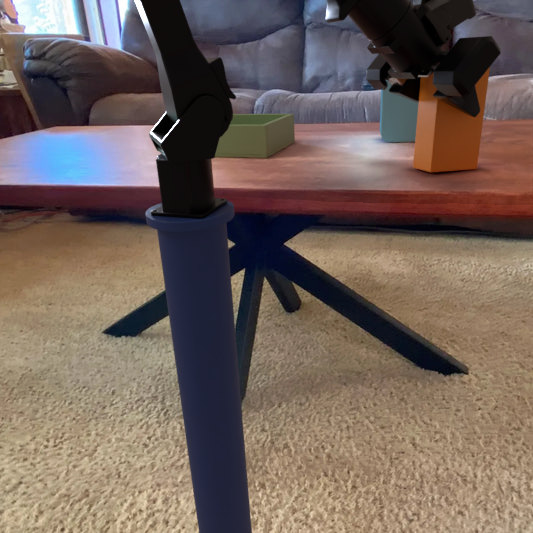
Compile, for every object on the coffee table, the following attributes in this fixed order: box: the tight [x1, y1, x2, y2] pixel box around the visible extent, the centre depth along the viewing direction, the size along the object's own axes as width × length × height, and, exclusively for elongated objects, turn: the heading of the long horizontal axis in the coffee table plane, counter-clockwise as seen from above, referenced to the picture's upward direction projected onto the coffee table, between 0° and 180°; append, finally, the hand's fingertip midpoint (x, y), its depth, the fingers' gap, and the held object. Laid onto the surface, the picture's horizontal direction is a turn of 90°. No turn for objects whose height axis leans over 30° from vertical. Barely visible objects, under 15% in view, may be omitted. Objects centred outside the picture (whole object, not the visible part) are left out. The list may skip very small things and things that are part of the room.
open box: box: [214, 113, 296, 159], centre depth 88 cm, size 15×15×5 cm
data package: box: [379, 80, 419, 143], centre depth 86 cm, size 12×4×12 cm, turn 81°
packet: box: [412, 66, 491, 173], centre depth 65 cm, size 4×7×13 cm, turn 108°
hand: (461, 112), depth 64 cm, fingers open, 5 cm apart
